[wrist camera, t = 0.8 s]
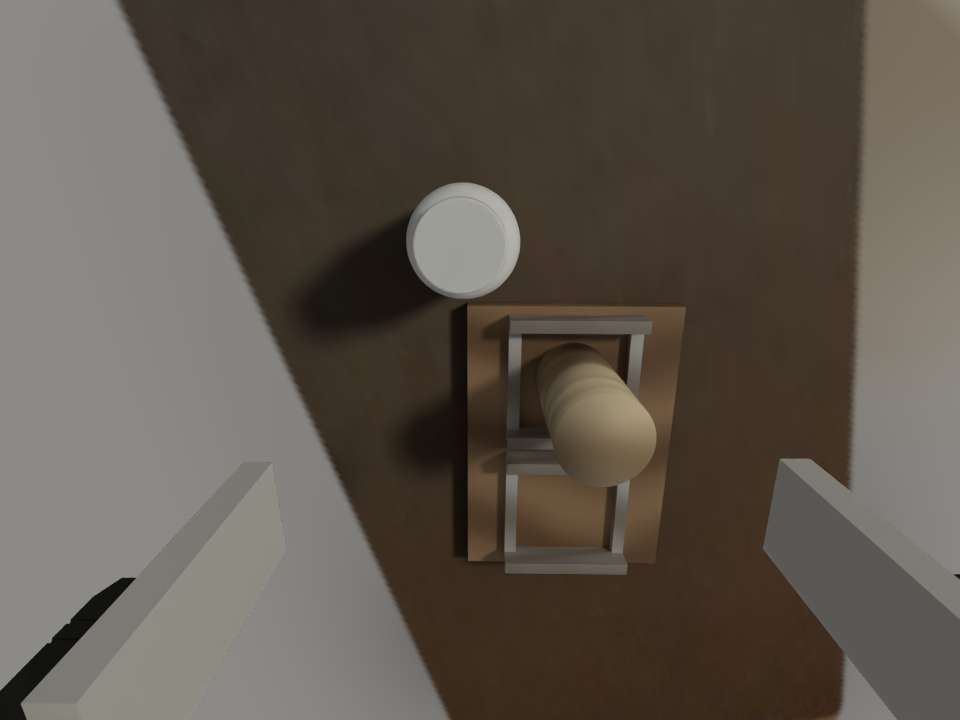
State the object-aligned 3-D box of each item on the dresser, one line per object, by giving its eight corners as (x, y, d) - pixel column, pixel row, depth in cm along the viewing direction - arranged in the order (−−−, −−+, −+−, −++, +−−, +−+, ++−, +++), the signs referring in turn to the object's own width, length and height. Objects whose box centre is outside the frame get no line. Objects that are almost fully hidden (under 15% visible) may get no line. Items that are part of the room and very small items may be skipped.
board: (467, 302, 31) (466, 311, 28) (678, 303, 31) (698, 313, 28) (468, 550, 36) (467, 579, 34) (649, 551, 36) (663, 581, 33)
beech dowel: (536, 342, 31) (556, 393, 22) (612, 342, 31) (661, 394, 22) (533, 412, 32) (551, 486, 23) (606, 412, 32) (651, 487, 23)
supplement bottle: (469, 299, 31) (462, 337, 22) (404, 236, 30) (368, 248, 21) (531, 234, 30) (552, 245, 21) (466, 167, 29) (457, 148, 20)
